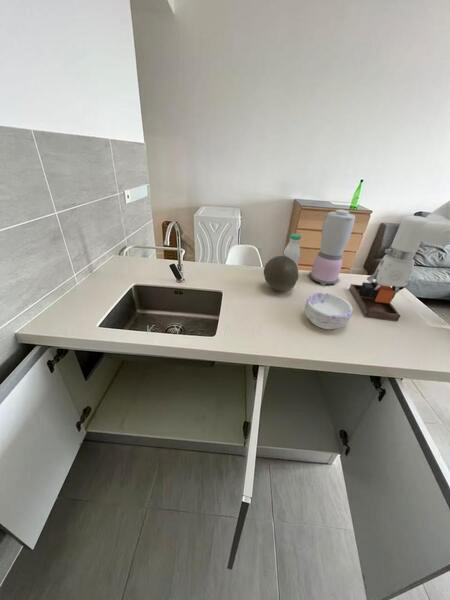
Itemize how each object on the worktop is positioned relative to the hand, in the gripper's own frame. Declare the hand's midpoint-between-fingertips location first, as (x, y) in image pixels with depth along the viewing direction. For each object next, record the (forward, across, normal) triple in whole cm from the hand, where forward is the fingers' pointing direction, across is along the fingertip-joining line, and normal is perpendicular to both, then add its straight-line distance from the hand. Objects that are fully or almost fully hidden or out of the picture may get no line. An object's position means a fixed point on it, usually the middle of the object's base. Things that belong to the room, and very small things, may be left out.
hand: (380, 298), depth 93 cm
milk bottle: (+6, -33, +24) cm, 41 cm away
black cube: (+5, 0, +11) cm, 12 cm away
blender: (+6, -17, +24) cm, 30 cm away
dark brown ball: (+6, -38, +7) cm, 39 cm away
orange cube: (0, 0, 0) cm, 0 cm away
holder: (+6, 0, +5) cm, 8 cm away
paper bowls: (+6, -22, -13) cm, 26 cm away
